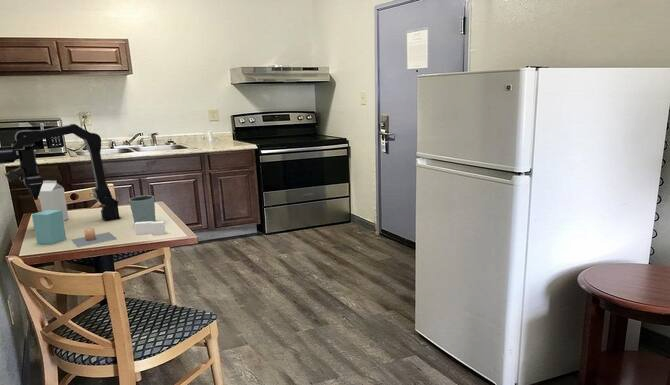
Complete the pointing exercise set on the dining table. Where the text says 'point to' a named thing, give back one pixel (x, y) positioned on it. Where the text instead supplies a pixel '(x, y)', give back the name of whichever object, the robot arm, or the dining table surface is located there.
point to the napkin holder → (150, 228)
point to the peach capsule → (89, 234)
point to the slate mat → (99, 238)
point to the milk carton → (53, 198)
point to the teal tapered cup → (143, 208)
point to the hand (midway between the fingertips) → (34, 198)
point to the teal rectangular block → (49, 226)
